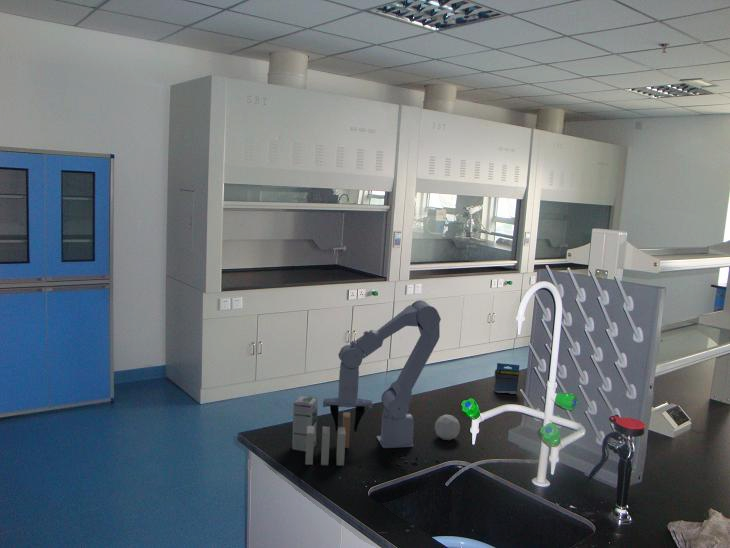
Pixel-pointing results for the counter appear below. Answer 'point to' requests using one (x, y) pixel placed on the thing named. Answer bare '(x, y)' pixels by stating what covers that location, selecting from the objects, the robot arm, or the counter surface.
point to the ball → (447, 427)
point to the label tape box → (506, 377)
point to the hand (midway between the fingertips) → (346, 430)
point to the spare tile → (346, 427)
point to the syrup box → (304, 421)
